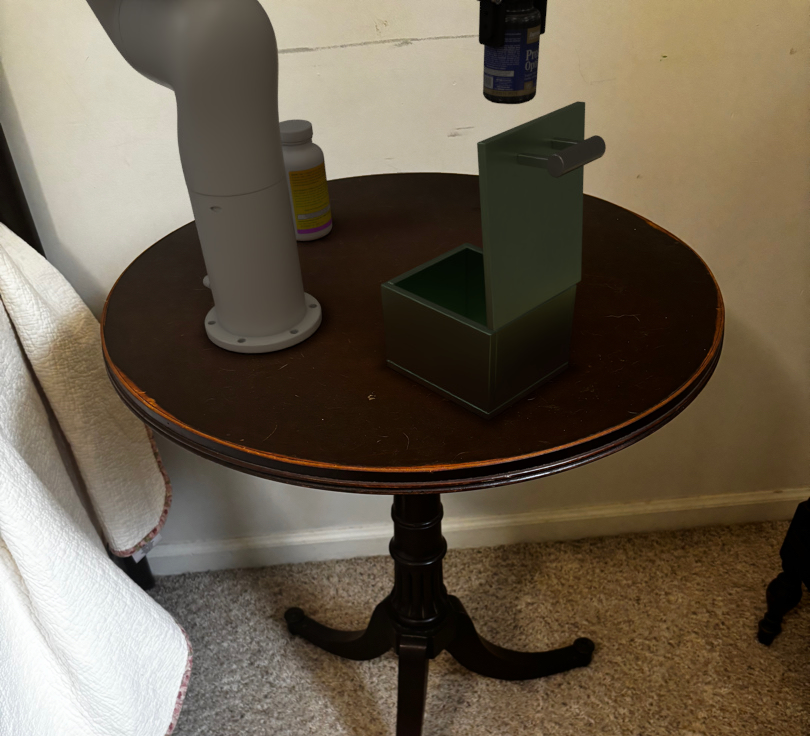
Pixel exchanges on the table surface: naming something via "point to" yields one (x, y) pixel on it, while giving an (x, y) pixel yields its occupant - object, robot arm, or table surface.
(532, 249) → the lid
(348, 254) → the table surface
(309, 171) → the supplement bottle
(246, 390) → the table surface
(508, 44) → the pill bottle
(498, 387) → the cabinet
